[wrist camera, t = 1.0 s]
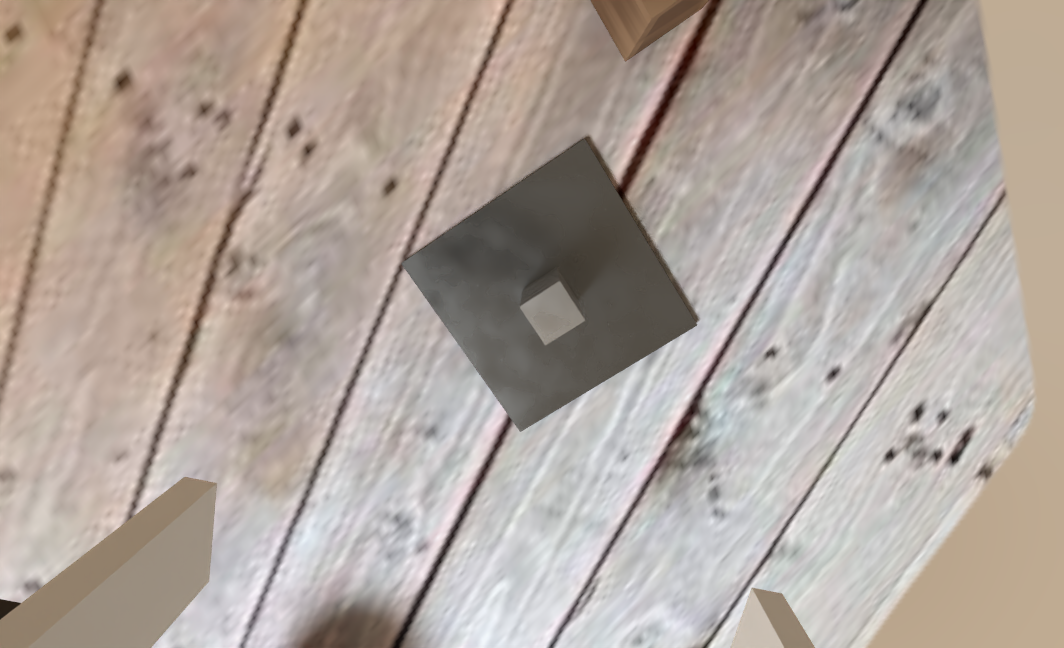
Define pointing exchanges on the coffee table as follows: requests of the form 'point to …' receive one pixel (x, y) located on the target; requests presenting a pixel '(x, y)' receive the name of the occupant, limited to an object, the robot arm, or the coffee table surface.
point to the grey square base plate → (551, 288)
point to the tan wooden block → (642, 20)
